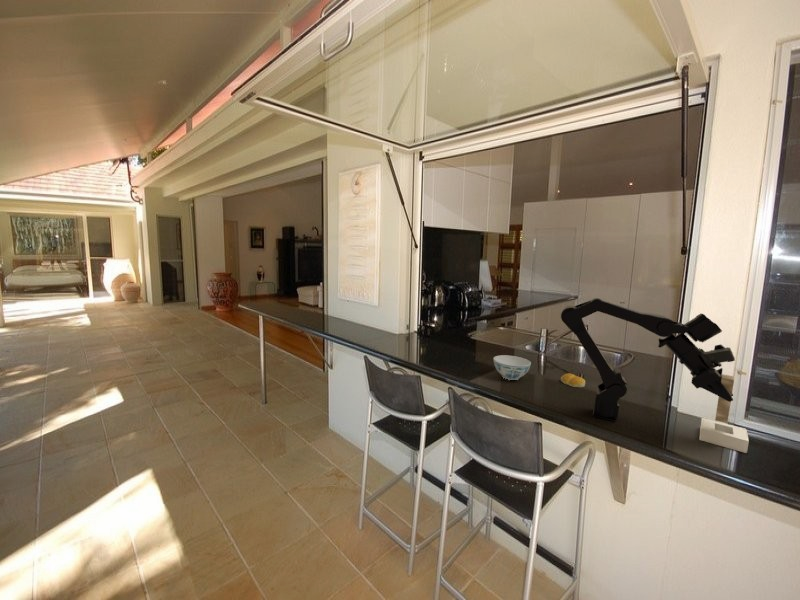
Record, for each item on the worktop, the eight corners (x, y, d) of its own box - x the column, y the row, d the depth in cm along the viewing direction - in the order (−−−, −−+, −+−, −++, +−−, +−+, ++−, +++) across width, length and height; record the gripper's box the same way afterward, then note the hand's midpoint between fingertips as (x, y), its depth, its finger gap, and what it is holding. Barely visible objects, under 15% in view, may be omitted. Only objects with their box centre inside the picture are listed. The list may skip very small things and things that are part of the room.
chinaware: (533, 377, 152) (534, 360, 151) (523, 387, 140) (525, 368, 139) (498, 369, 160) (500, 353, 159) (487, 378, 148) (488, 360, 147)
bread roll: (577, 389, 141) (579, 379, 140) (557, 382, 148) (558, 372, 148) (589, 386, 145) (590, 376, 145) (569, 379, 153) (570, 370, 152)
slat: (715, 420, 100) (721, 377, 99) (715, 415, 104) (722, 374, 102) (727, 423, 99) (734, 379, 97) (727, 418, 102) (734, 376, 100)
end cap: (699, 439, 104) (701, 428, 103) (700, 428, 111) (701, 417, 111) (746, 453, 97) (748, 441, 97) (744, 440, 105) (746, 428, 104)
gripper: (713, 341, 94) (766, 393, 88) (716, 332, 108) (761, 376, 102) (672, 363, 100) (719, 413, 94) (679, 352, 114) (720, 395, 108)
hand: (731, 398), depth 99 cm, fingers closed on slat, 4 cm apart
